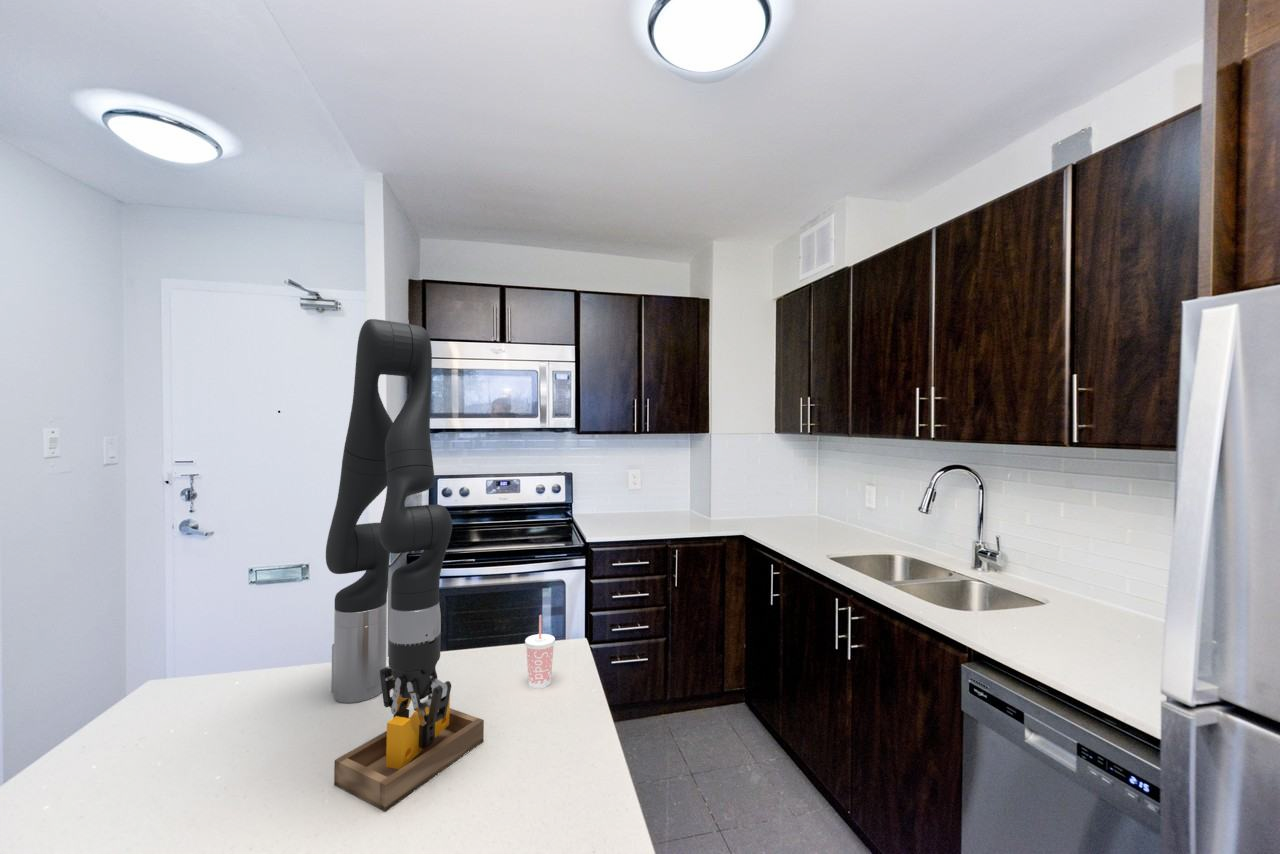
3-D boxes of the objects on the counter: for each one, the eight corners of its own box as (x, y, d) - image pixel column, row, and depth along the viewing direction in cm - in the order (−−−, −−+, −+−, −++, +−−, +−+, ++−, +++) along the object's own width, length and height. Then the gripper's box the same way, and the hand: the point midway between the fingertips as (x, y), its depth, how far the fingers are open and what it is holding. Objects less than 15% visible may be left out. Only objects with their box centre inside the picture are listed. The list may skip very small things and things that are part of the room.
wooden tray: (334, 784, 77) (334, 760, 77) (435, 723, 93) (435, 703, 93) (385, 811, 71) (385, 785, 72) (483, 741, 88) (483, 719, 88)
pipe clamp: (426, 720, 89) (427, 682, 89) (449, 724, 88) (450, 686, 88) (375, 764, 77) (376, 721, 77) (401, 769, 76) (402, 725, 76)
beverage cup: (520, 688, 106) (520, 619, 106) (530, 675, 112) (531, 609, 112) (549, 691, 105) (550, 621, 105) (558, 677, 111) (559, 610, 111)
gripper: (363, 632, 82) (362, 740, 82) (427, 650, 76) (425, 768, 76) (404, 617, 89) (403, 717, 89) (466, 633, 82) (465, 741, 82)
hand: (413, 740), depth 82 cm, fingers closed on pipe clamp, 5 cm apart
